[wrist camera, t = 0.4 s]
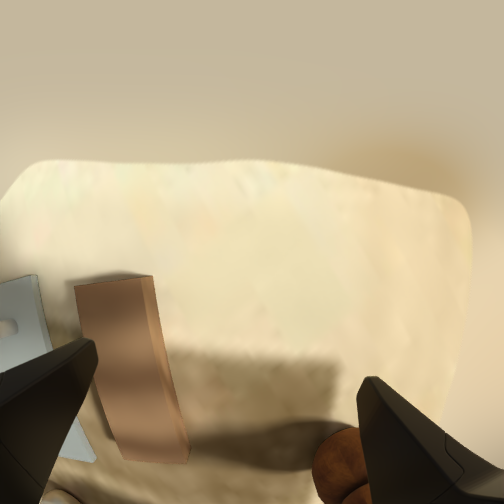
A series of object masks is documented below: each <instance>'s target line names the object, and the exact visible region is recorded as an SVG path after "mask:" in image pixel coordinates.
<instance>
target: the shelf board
mask: <svg viewBox="0 0 504 504" xmlns="http://www.w3.org/2000/svg"><path fill="white" fill-rule="evenodd" d="M74 289H75V295H76V302H77V308H78V313H79V319H80V324H81V329H82V333H83V337H86V338H89V339H92V340H94V342H95V345H96V349H97V354H98V359H99V361H98V366H97V368H96V371H95V373H94V376H93V377H94V381H95V384H96V387H97V391H98V394H99V397H100V400H101V403H102V406H103V409H104V412H105V414H106V417H107V420H108V423H109V425H110V428H111V431H112V433H113V436H114V438H115V441H116V443H117V445H118V448H119V450H120V452H121V455H122V457H123V459H124V460H131V461H141V462H152V463H169V464H186V463H187V460H188V457H189V454H190V451H191V445H190V442H189V439H188V435H187V432H186V429H185V425H184V422H183V418H182V415H181V411H180V408H179V404H178V400H177V396H176V392H175V388H174V384H173V380H172V376H171V372H170V367H169V363H168V358H167V354H166V349H165V344H164V339H163V334H162V329H161V324H160V318H159V312H158V307H157V300H156V294H155V288H154V281H153V276H148V277H141V278H133V279H125V280H118V281H110V282H102V283H94V284H87V285H79V286H74Z"/></svg>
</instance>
